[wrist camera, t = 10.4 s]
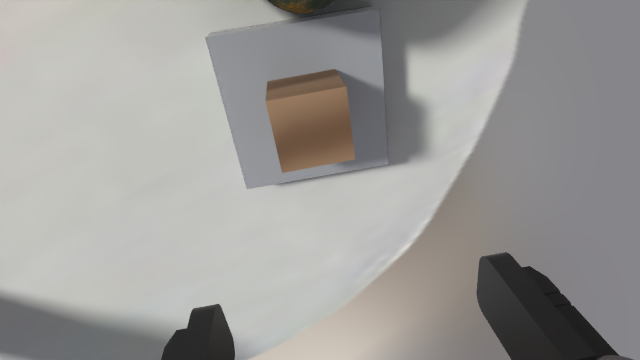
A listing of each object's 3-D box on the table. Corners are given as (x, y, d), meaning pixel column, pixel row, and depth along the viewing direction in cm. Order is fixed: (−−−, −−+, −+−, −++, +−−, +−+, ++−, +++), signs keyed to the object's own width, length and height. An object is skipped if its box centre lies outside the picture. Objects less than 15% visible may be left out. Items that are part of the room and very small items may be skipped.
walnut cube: (267, 81, 27) (265, 101, 23) (335, 68, 27) (346, 86, 23) (281, 144, 30) (282, 173, 25) (343, 132, 30) (355, 159, 25)
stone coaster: (248, 175, 33) (246, 189, 31) (210, 32, 28) (205, 37, 25) (381, 152, 34) (388, 164, 31) (371, 6, 28) (379, 9, 26)
